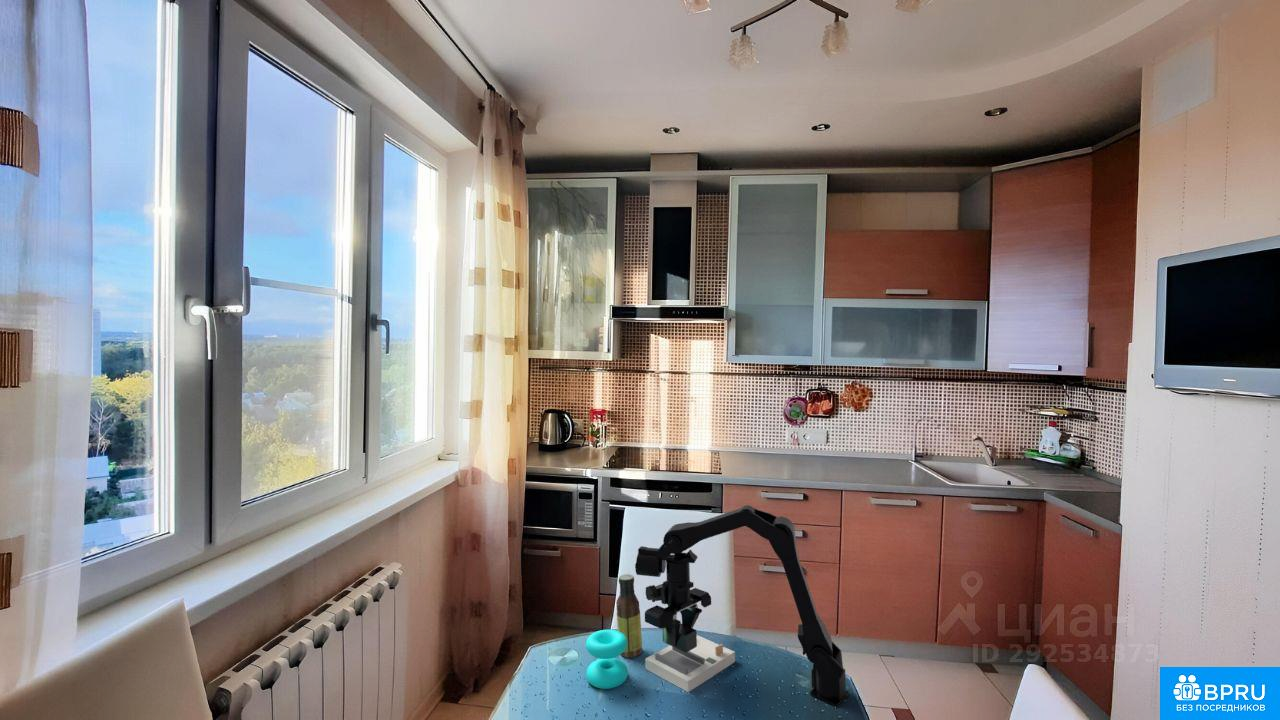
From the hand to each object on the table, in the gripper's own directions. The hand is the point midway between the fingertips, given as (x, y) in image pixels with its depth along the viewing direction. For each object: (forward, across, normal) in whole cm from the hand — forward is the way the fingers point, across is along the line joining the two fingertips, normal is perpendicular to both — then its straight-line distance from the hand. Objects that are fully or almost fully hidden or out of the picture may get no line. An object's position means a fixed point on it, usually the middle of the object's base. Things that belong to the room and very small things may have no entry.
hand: (679, 642), depth 131 cm
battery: (0, 0, 0) cm, 1 cm away
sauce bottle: (+7, +3, -16) cm, 17 cm away
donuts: (+7, +15, -11) cm, 20 cm away
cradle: (+7, -4, 0) cm, 8 cm away
